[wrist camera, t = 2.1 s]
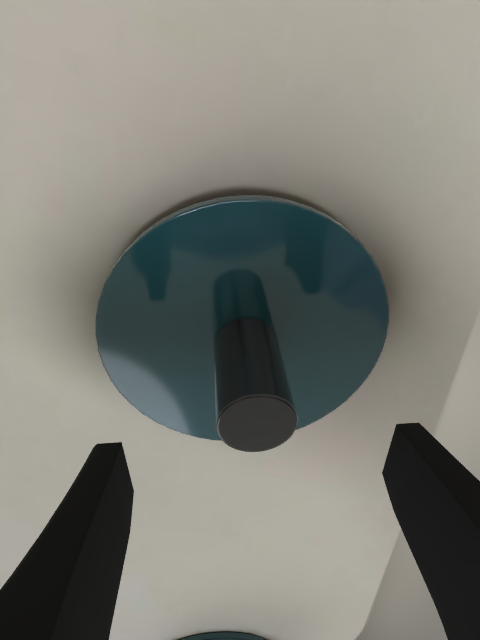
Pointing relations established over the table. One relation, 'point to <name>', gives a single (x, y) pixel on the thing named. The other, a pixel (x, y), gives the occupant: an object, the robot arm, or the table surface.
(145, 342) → the lid
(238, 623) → the table surface
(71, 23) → the table surface
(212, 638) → the tin
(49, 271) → the table surface
